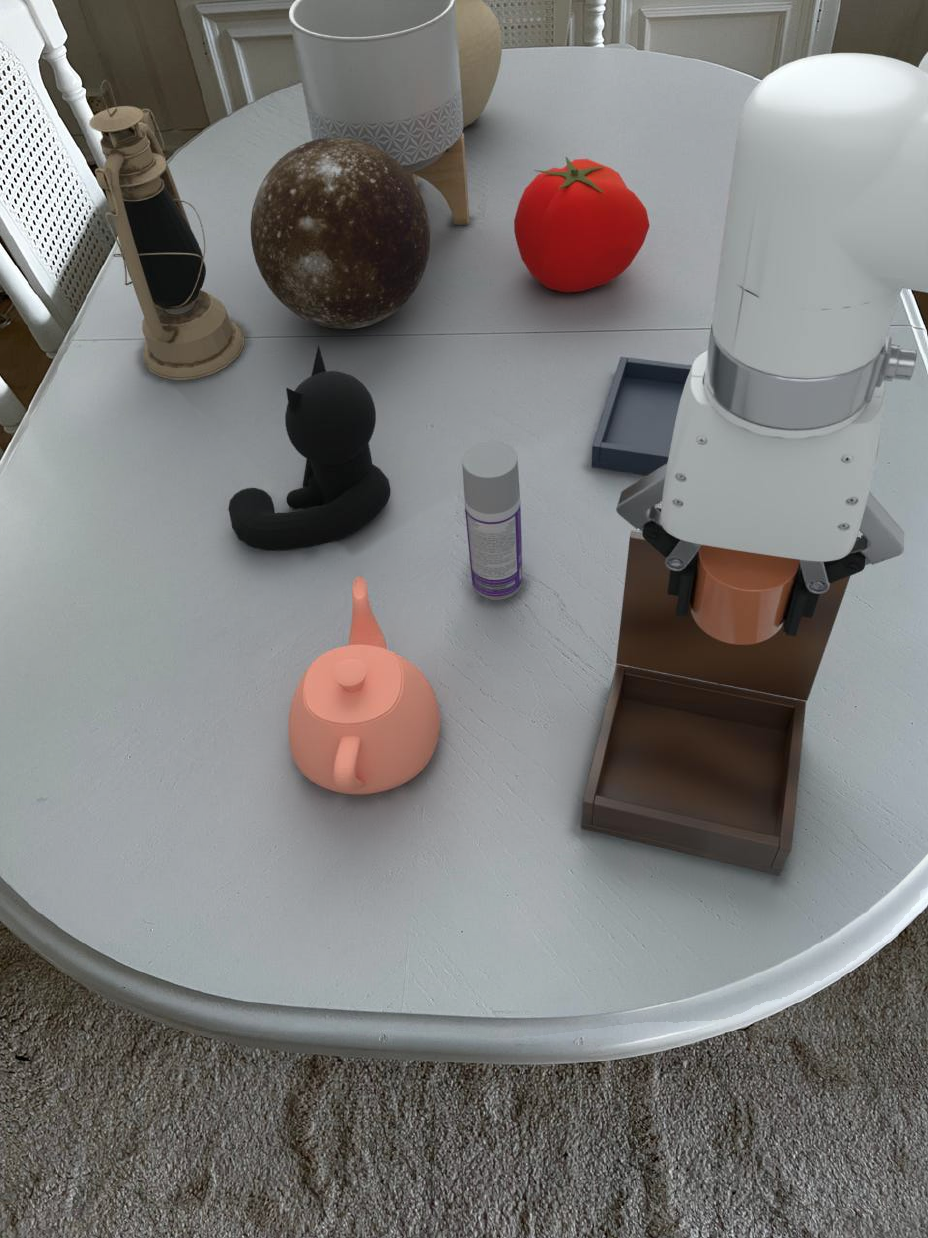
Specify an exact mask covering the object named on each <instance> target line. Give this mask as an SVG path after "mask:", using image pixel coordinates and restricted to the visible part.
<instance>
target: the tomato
mask: <svg viewBox="0 0 928 1238" xmlns="http://www.w3.org/2000/svg"><path fill="white" fill-rule="evenodd" d="M565 161H566V165H565V166H564V167H561V168H559V167H552V168H549V169H547V170H536V169H532V171H534V172H538V174H537V175H536V176H535V177H534V178H533V179H532V181H531V182H529V184H528V185H527V186H526V187H525V188H524V191H523V193H522V194H521V197H520V199H519V202H518V205H517V209H516V212H515V215H514V216H515V217H514V220H513V224H514V225H513V228H514V236H515V240H516V244H517V248H518V251H519V252H518V253H519V255H520V258H521V260H522V263H524V265H525V267H526V269H527V270H528V272H529V273H530V275H532V277H534V278H535V279H536V280H537V281H539V282H540V283H541V284H542V285H544V286H545V287H546V288H547V289H550V290H553V291H554V290H555V291H557V292H562V293H576V292H578V293H579V292H583V291H587V290H591V289H594V288H598V287H600V286H605V285H608V284H609V283H611V282H612V281H613V280H614V279H616V278H617V277H618V276H620V275H621V274H623V272H625V271H626V270H627V269H628V268H629V267H630V266H631V265H632V263H633V262H634V260H635V258H636V256H637V255H638V253H639V251H640V250H641V249H642V246H643V245H644V243H645V241H646V238H647V234H648V232H649V229H650V225H651V224H650V222H649V221H650V219H649V217H648V216H649V215H648V210H647V209H646V207H645V205H644V204H643V202H642V201H641V200H640V198H639V197H638V196H637V195H636V194H635V192H634V191H633V190H631V189H629V188H628V186H627V185H626V183H625V181H624V180H623V177H622V176H621V174H620V173H619V172H618V171H616V170H614V169H613V168H612V167H609V166H606V165H604V164H602V163H599V162H596V161H594V160H592V159H589V158H577V159H576V158H575V159H573V160H572V161H570V159H569V158H568V157H567V156H565Z"/></svg>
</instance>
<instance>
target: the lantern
mask: <svg viewBox="0 0 928 1238" xmlns="http://www.w3.org/2000/svg"><path fill="white" fill-rule="evenodd" d="M104 83H107V84H108V86H109V89H110V92H111V95H112V100H113V103H114V106H112V107H111V108H108V105H107V103H106V100H105V98H104V94H103V85H104ZM100 95H101V98H102V101H103V103H104V106H105V108H106V109H104V110H102V111H99V112H98V113H96V114H94V115H93V116H92V117H91V119H89V123H88V124H89V126H90V128H91V129H92V130H95V131H96V132H97V131H98V132H100V134H101V136H102V137H101V139H100V142H99V144H100V147H101V151H102V154H103V156H104V158H105V162H104V165H103V167H102V168H95V170H94V173H95V175H96V182H97V184H98V187H100V189H103V190H105V194H106V199H107V203H108V207H109V210H110V211H108V212H105V220H106V222H107V225H108V227H109V230H110V231H111V233H112V235H113V238H114V240H115V241H116V244H117V246H118V248H119V251H120V253H114V254H113V255H112V257H113V258H122V260H123V269H124V276H125V277H124V285H125V286H129V285H131V284H132V286H133V289H134V292H135V295H136V298H137V301H138V303H139V306H140V309H141V312H142V315H143V320H142V323H141V324H142V325H141V330H142V331H141V332H142V333H143V336H144V339H145V341H146V343H145V345H144V348H143V357H142V359H143V361H142V362H143V363H144V365H145V366H146V368H147V369H148V370H149V372H151V373H152V374H154V375H156V376H158V377H160V378H162V379H167V380H173V381H185V380H186V381H187V380H197V379H201V378H203V377H208V376H212V375H214V374H216V373H217V372H220V371H221V370H223V369H225V368H227V367H229V366H230V365H231V364H232V363H233V362H234V361H235V360H236V359H237V358H238V357H239V356H240V355H241V353H242V351H243V349H244V347H245V335H244V331H242V330H241V328H240V327H239V325H238V324H236V323H235V322H234V321H233V320H231V319H230V318H229V314H228V311H227V307H226V306H225V304H223V302H222V300H220V299H218V298H217V297H215V296H213V295H212V294H210V293H209V292H206V291H205V290H202V289H203V286H204V283H205V279H206V275H207V267H206V263H205V256H206V255H205V254H206V237H205V232H204V231H205V230H204V226H203V223H202V219H201V217H200V215H199V213H198V211H197V209H196V208H195V207H194V206H193V205H192V204H191V203H190V202H188V201H186V200H182V199H181V196H180V193H179V190H178V188H177V186H176V183H175V181H174V180H175V179H174V177H173V175H172V172H171V170H170V167H169V164H168V161H167V160H166V156H165V155H164V152H163V151H165V141H164V139H163V136H162V133H161V131H160V128H159V126H158V123H157V121H156V118H155V115H154V113H153V112H152V111H151V110H150V109H149V108H142V109H141V108H139V107H136V106H131V105H123V106H122V105H121V106H117V102H116V99H115V95H114V92H113V89H112V86H111V84H110V81H108V80H107V79H104V80H103V81H102V82H101V83H100ZM156 130H157V132H158V135H159V138H160V141H161V144H162V147H161V145H160V143H159V141H158V139H157V137H156V135H155V131H156ZM183 203H185V204H187V205H189V206H190V207H192V209H193V210H194V211H195V214H196V216H197V218H198V220H199V224H200V227H201V231H202V237H203V238H202V239H203V253H202V249H201V247H200V244H199V242H198V240H197V238H196V236H195V234H194V231H193V229H192V228H191V224H190V221H189V218H188V216H187V213H186V210H185V208H184V205H183ZM109 215H111V218H112V221H113V224H114V228H115V232H116V234H115V232H114V229H113V227H112V224H111V222H110V220H109ZM127 272H128V273H127ZM128 275H129V278H130V280H131V281H129V282H128Z"/></svg>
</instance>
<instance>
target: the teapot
mask: <svg viewBox="0 0 928 1238" xmlns="http://www.w3.org/2000/svg"><path fill="white" fill-rule="evenodd" d="M351 588H352V589H351V600H352V601H351V602H352V603H351V604H352V605H351V606H352V607H351V609H352V610H351V611H352V613H351V623H350V632H349V640H348V642H349V643H348V645H343V646H339V647H336V648H332V649H330V650H328V651H326V652H324V653H323V654H321V655H319V656H318V657H317V658H316V659H315V660H314V661H313V662H312V663H311V664H310V665H309V666H308V667H307V669H306V670H305V672H304V673H303V675H302V677H301V678H300V680H299V682H298V685H297V686H296V689H295V691H294V694H293V696H292V700H291V704H290V709H289V713H288V726H287V727H288V742H289V748H290V753H291V756H292V758H293V761H294V764H295V765H296V767H297V769H298V770H299V771H300V772H301V774H302V775H303V776H305V777H306V778H307V779H308V780H309V781H311V782H312V783H314V784H316V785H318V786H319V787H321V788H324V789H325V790H328V791H332V792H335V793H339V794H345V795H372V794H378V793H382V792H386V791H388V790H392V789H395V788H398V787H401V786H402V785H404V784H406V783H408V782H409V781H411V780H412V779H414V778H415V777H417V776H418V775H419V774H420V773H421V772H422V771H423V770H424V769H425V768H426V767H427V765H428V764H429V762H430V761H431V759H432V757H433V755H434V753H435V750H436V748H437V745H438V742H439V737H440V731H441V715H440V707H439V703H438V700H437V697H436V693H435V691H434V689H433V687H432V686H431V683H430V681H429V680H428V679H427V677H426V676H425V674H424V673H423V672H422V671H421V670H420V669H419V667H417V666H416V665H415V664H414V663H413V662H411V661H409V660H408V659H406V658H405V657H404V656H402V655H400V654H398V653H396V652H393V651H391V650H389V649H388V646H387V642H386V639H385V635H384V633H383V631H382V629H381V627H380V625H379V622H378V620H377V619H376V616H375V615H374V612H373V610H372V607H371V603H370V599H369V590H368V585H367V582H366V579H365V578H364V577H362V576H357V577H356V578H355V579H354V580H353V583H352V587H351Z"/></svg>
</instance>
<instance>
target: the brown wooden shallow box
mask: <svg viewBox="0 0 928 1238" xmlns="http://www.w3.org/2000/svg"><path fill="white" fill-rule="evenodd" d="M806 707H807V701H804V700H799V699H794V698H788V697H783V696H778V695H773V694H768V693H763V692H758V691H753V690H748V689H743V688H738V687H732V686H727V685H722V684H717V683H712V682H707V681H702V680H697V679H692V678H687V677H681V676H676V675H671V674H666V673H661V672H656V671H651V670H646V669H641V668H636V667H631V666H625V665H620V664H615V668H614V672H613V676H612V680H611V685H610V689H609V693H608V696H607V701H606V704H605V709H604V713H603V717H602V721H601V724H600V728H599V733H598V737H597V741H596V746H595V748H594V753H593V757H592V761H591V765H590V769H589V773H588V778H587V782H586V785H585V790H584V793H583V798H582V804H581V821H580V829H581V830H582V829H583V830H587V831H591V832H595V833H600V834H604V835H608V836H612V837H616V838H621V839H625V840H627V841H632V842H636V843H641V844H645V845H648V846H649V845H650V846H653V847H654V846H655V847H659V848H663V849H667V850H671V851H675V852H679V853H683V854H687V855H692V856H696V857H700V858H705V859H709V860H713V861H717V862H720V863H721V862H722V863H726V864H729V865H733V866H738V867H742V868H746V869H751V870H756V871H760V872H764V873H767V874H772V875H775V876H781V874H782V872H783V870H784V867H785V865H786V863H787V861H788V859H789V856H790V854H791V852H792V848H793V840H794V839H793V837H794V829H795V818H796V810H797V809H796V808H797V799H798V787H799V779H800V769H801V757H802V750H803V738H804V729H805V728H804V727H805V718H806Z"/></svg>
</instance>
